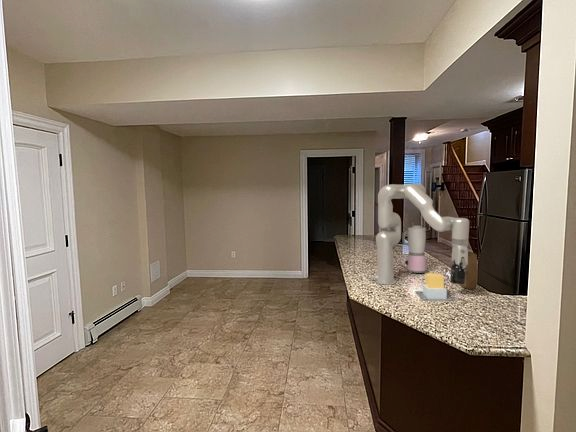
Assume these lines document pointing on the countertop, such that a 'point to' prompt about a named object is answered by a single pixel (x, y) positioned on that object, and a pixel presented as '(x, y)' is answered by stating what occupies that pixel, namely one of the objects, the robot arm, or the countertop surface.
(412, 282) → the countertop surface
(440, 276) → the yellow cube
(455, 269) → the supplement bottle
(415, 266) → the blender
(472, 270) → the block
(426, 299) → the building plate
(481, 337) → the countertop surface
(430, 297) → the grey brick
